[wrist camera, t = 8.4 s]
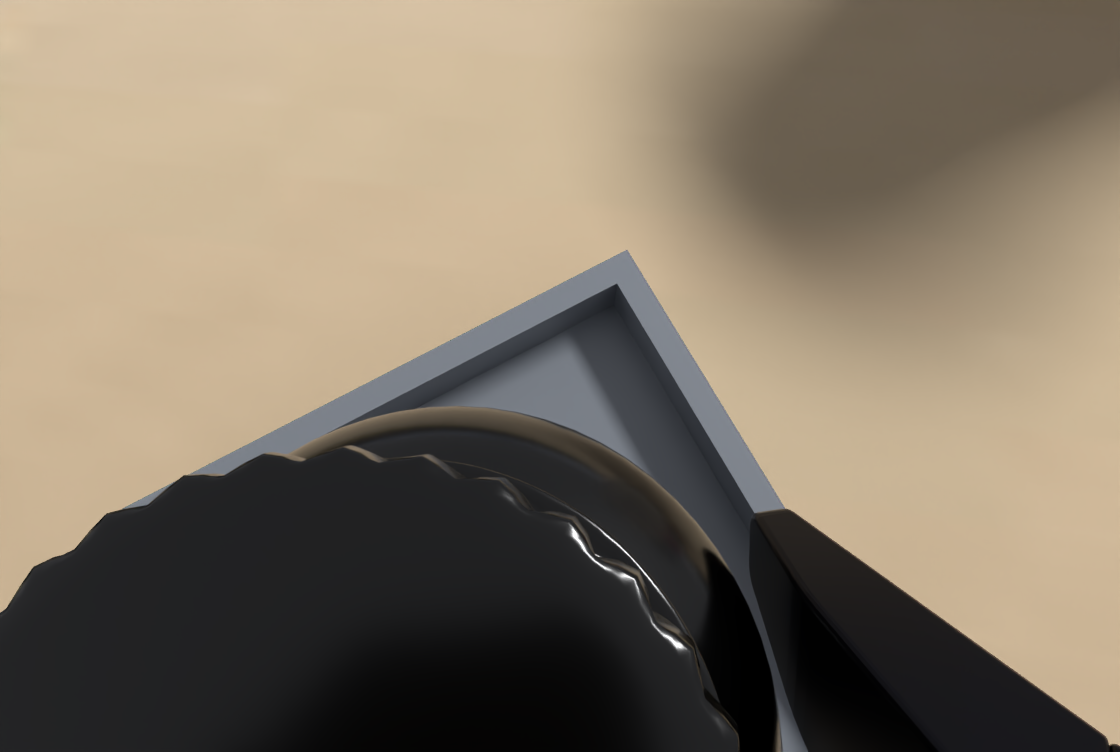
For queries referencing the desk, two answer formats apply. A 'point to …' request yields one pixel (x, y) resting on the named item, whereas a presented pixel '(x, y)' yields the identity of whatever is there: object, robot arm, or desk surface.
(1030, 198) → the desk surface
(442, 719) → the supplement bottle
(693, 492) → the tray
